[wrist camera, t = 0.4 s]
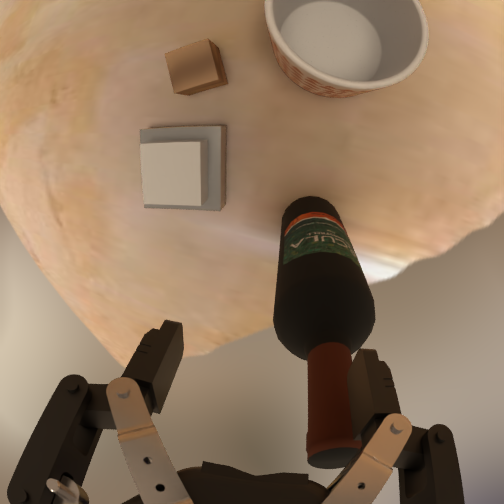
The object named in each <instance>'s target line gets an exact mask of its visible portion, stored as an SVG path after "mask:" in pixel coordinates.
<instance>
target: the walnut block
mask: <svg viewBox="0 0 504 504" xmlns="http://www.w3.org/2000/svg"><path fill="white" fill-rule="evenodd" d="M165 57H166V61H167V66H168V70H169V74H170V78H171V82H172V86H173V90H174V93H176V94H183V95H192V94H195V93H198V92H201V91H205V90H208V89H212V88H215V87H219V86H222V85H226V84H228V82H227V78H226V75H225V71H224V67H223V63H222V59H221V56H220V52H219V48H218V47H217V46H216V45H215V44H214V43H212V42H211V41H210V40H209V39H205V40H202V41H199V42H196V43H193V44H190V45H187V46H184V47H181V48H179V49H176V50H173V51H171V52H168V53H165Z"/></svg>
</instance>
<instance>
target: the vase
mask: <svg viewBox="0 0 504 504" xmlns="http://www.w3.org/2000/svg"><path fill="white" fill-rule="evenodd" d="M264 9H265V18H266V23H267V27H268V31H269V34H270V38H271V43H272V47H273V51H274V54H275V57H276V59H277V62H278V64H279V65H280V67H281V68H282V70H283V71H284V73H285V74H286V75H287V76H288V77H289V78H290V79H291V80H292V81H293V82H295V83H296V84H297V85H299V86H300V87H302V88H304V89H305V90H307V91H309V92H312V93H314V94H317V95H321V96H325V97H332V98H343V97H350V96H355V95H358V94H362V93H365V92H369V91H373V90H377V89H381V88H385V87H388V86H391V85H394V84H396V83H398V82H400V81H402V80H404V79H405V78H407V77H408V76H410V75H411V74H412V73H413V72H414V71H415V70H416V69H417V68H418V66H419V65H420V63H421V62H422V60H423V58H424V56H425V54H426V51H427V47H428V40H429V30H428V23H427V19H426V16H425V13H424V10H423V8H422V6H421V4H420V2H419V0H265V4H264Z"/></svg>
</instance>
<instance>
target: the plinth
mask: <svg viewBox="0 0 504 504" xmlns="http://www.w3.org/2000/svg"><path fill="white" fill-rule="evenodd" d="M140 159H141V176H142V190H143V202H144V208H161V209H186V210H207V211H221V210H222V208H223V207H224V206H225V204H226V125H209V126H175V127H157V128H147V129H141V130H140Z"/></svg>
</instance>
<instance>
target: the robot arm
mask: <svg viewBox="0 0 504 504" xmlns="http://www.w3.org/2000/svg"><path fill="white" fill-rule="evenodd" d="M183 350H184V342H183V326H182V323H180V322H175V321H170V320H165V321H164V322H163V324H162V326H161V328H160V330H158V329H154V328H153V329H151V330H150V331H149V332H147V333H146V334H145V335H144V337H143V338H142V340H141V342H140V345H138V347H137V349H136V351H135V353H134V354H133V356H132V358H131V360H130V362H129V364H128V365H127V367H126V369H125V371H124V373H123V374H122V376H121V377H120V378H116V379H114V380H112V381H111V382H110V383H109V384H88V383H87V381H86V379H85V378H84V377H82V376H80V375H68V376H66V377H64V378H63V379H62V380H61V381H60V383H59V385H58V386H57V388H56V390H55V392H54V393H53V395H52V397H51V399H50V401H49V403H48V405H47V406H46V408H45V410H44V412H43V414H42V416H41V417H40V419H39V421H38V424H37V425H36V427H35V429H34V431H33V433H32V435H31V437H30V439H29V441H28V443H27V445H26V447H25V450H24V452H23V454H22V456H21V458H20V460H19V463H18V465H17V467H16V470H15V472H14V474H13V476H12V479H11V481H10V483H9V486H8V489H7V496H8V499H9V502H10V504H89V497H88V495H87V493H86V492H85V490H84V489H83V488H81V487H82V483H83V481H84V478H85V475H86V472H87V470H88V467H89V464H90V462H91V459H92V456H93V454H94V451H95V448H96V446H97V443H98V441H99V438H100V435H101V433H102V431H103V429H116V430H117V432H118V440H119V443H120V446H121V449H122V451H123V454H124V457H125V460H126V462H127V465H128V468H129V470H130V472H131V475H132V478H133V480H134V483H135V485H136V487H137V490H138V492H139V494H138V495H137V496H135V497H133V498H131V499H130V500H127V501H126V502H124V503H122V504H372V502H373V501H374V499H375V498H376V497H377V495H378V494H379V492H380V491H381V489H382V488H383V486H384V485H385V483H386V481H387V480H388V478H389V477H390V475H391V474H392V472H393V469H392V467H396V468H398V472H399V490H400V504H465V503H464V495H463V487H462V480H461V474H460V468H459V463H458V457H457V453H456V447H455V443H454V438H453V434H452V432H451V430H450V429H449V428H448V427H447V426H445V425H442V424H436V425H434V426H432V427H431V428H430V429H429V430H428V429H423V428H419V427H415V426H412V425H411V422H410V421H409V420H408V418H406V417H405V416H404V415H402V414H401V411H400V406H399V402H398V398H397V394H396V389H395V388H394V382H393V380H392V374H391V371H390V368H389V367H388V366H387V364H386V363H385V362H384V361H379V359H378V355H377V351H376V350H374V349H361V348H360V349H359V350H358V352H357V354H356V356H355V358H354V360H353V362H352V364H351V366H350V368H349V371H348V375H347V387H348V395H349V403H350V412H351V422H352V432H353V440H361V442H362V446H361V447H360V448H359V450H358V451H357V452H356V454H355V455H354V456H353V458H352V459H351V460H350V462H349V463H348V464H347V465H346V467H345V468H344V469H343V470H342V472H341V473H340V474H339V475H338V476H337V478H335V480H334V481H333V482H332V483H331V484H330V485H329V486H328V487H327V488H325V487H324V486H322V485H320V484H318V483H316V482H314V481H311V480H308V474H297V473H276V474H269V475H260V476H254V475H251V474H249V473H246V472H243V471H240V470H238V469H235V468H233V467H230V466H226V465H220V464H214V463H210V462H205V461H203V464H202V467H190V468H186V469H182V470H180V471H177V472H176V470H175V468H174V466H173V464H172V462H171V460H170V458H169V456H168V454H167V452H166V450H165V447H164V445H163V443H162V441H161V439H160V436H159V434H158V432H157V430H156V428H155V426H154V424H153V422H152V419H151V415H152V413H153V412H154V413H158V414H160V413H161V410H162V408H163V405H164V402H165V400H166V397H167V395H168V392H169V389H170V387H171V384H172V382H173V379H174V377H175V374H176V371H177V369H178V367H179V364H180V361H181V359H182V356H183Z"/></svg>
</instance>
